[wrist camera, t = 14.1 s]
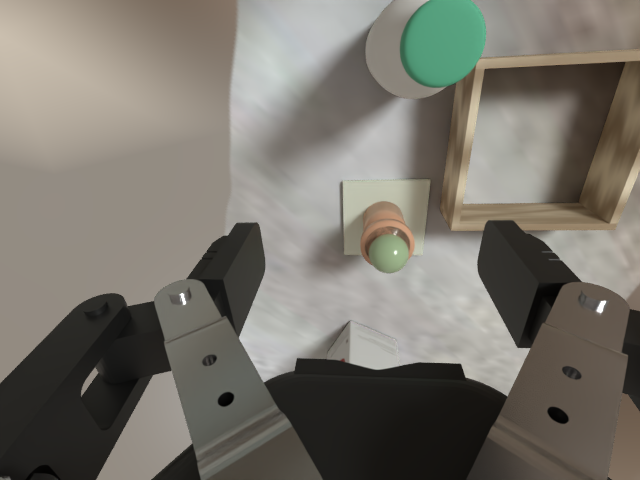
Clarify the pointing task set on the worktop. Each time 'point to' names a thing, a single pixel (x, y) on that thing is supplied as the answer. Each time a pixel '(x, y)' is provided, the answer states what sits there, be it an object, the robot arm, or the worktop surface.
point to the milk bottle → (424, 45)
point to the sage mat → (400, 192)
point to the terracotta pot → (386, 237)
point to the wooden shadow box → (605, 171)
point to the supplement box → (364, 348)
